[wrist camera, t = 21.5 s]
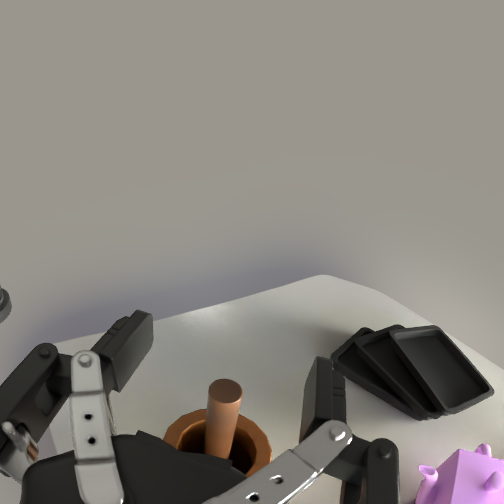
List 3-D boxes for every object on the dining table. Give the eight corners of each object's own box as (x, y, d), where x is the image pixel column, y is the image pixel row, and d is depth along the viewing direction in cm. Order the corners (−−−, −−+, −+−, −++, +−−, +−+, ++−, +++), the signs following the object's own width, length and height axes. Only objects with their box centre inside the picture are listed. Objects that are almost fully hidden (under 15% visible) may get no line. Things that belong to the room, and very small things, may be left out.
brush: (215, 507, 21) (234, 423, 14) (188, 490, 22) (184, 392, 15) (234, 486, 24) (265, 387, 17) (207, 470, 25) (219, 362, 18)
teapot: (458, 464, 25) (506, 416, 21) (491, 527, 13) (550, 486, 9) (373, 501, 23) (425, 459, 18) (405, 584, 10) (474, 563, 6)
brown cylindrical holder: (222, 537, 18) (233, 515, 14) (155, 493, 22) (139, 451, 17) (265, 484, 25) (289, 439, 21) (202, 447, 29) (205, 393, 24)
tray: (312, 382, 41) (322, 358, 39) (359, 317, 59) (367, 296, 57) (474, 451, 27) (495, 431, 24) (477, 368, 45) (489, 348, 43)
